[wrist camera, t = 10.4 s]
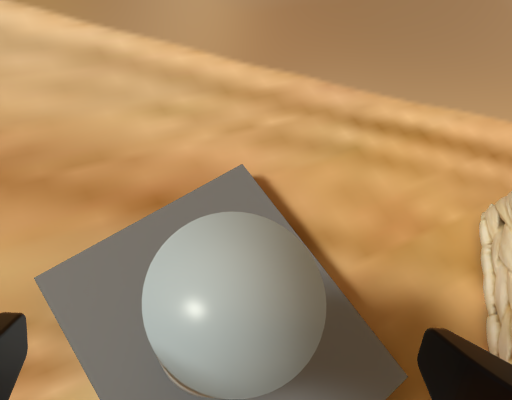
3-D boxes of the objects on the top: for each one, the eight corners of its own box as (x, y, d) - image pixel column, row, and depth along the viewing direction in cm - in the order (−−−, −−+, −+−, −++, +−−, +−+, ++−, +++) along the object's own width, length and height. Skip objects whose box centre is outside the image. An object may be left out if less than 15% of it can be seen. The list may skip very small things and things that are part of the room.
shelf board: (393, 377, 21) (408, 376, 19) (199, 570, 16) (201, 585, 15) (238, 176, 24) (242, 164, 23) (43, 285, 20) (33, 278, 18)
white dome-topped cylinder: (269, 376, 18) (355, 357, 10) (173, 413, 17) (169, 433, 8) (239, 283, 20) (287, 195, 11) (148, 311, 19) (122, 236, 10)
